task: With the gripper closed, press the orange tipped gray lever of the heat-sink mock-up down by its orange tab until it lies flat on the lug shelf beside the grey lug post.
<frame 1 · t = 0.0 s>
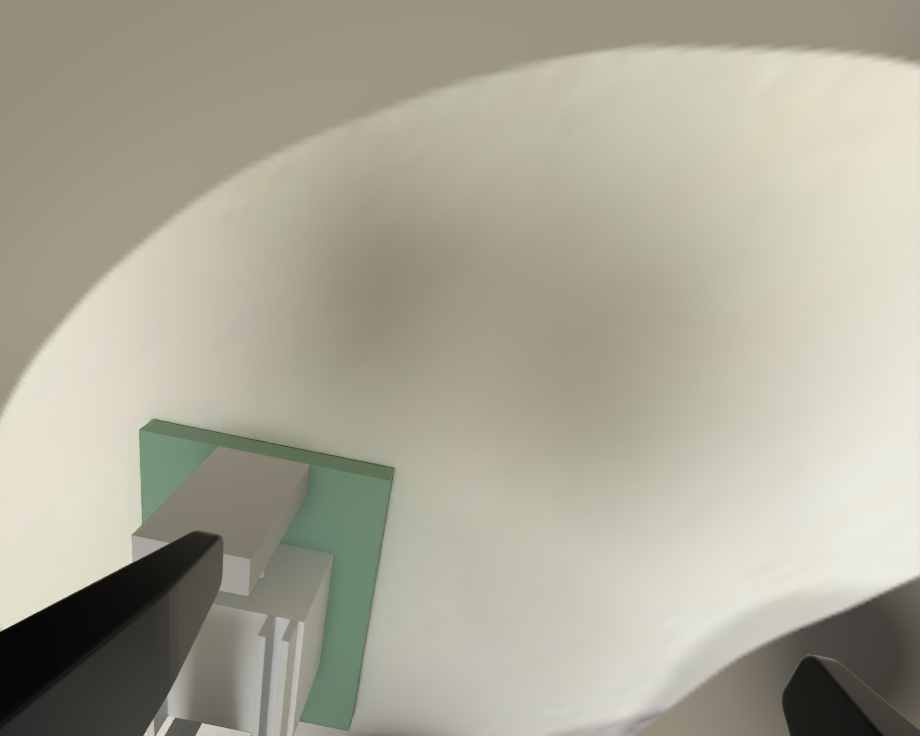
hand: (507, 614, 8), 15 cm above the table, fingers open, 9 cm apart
heatsink board: (263, 582, 28), on the table
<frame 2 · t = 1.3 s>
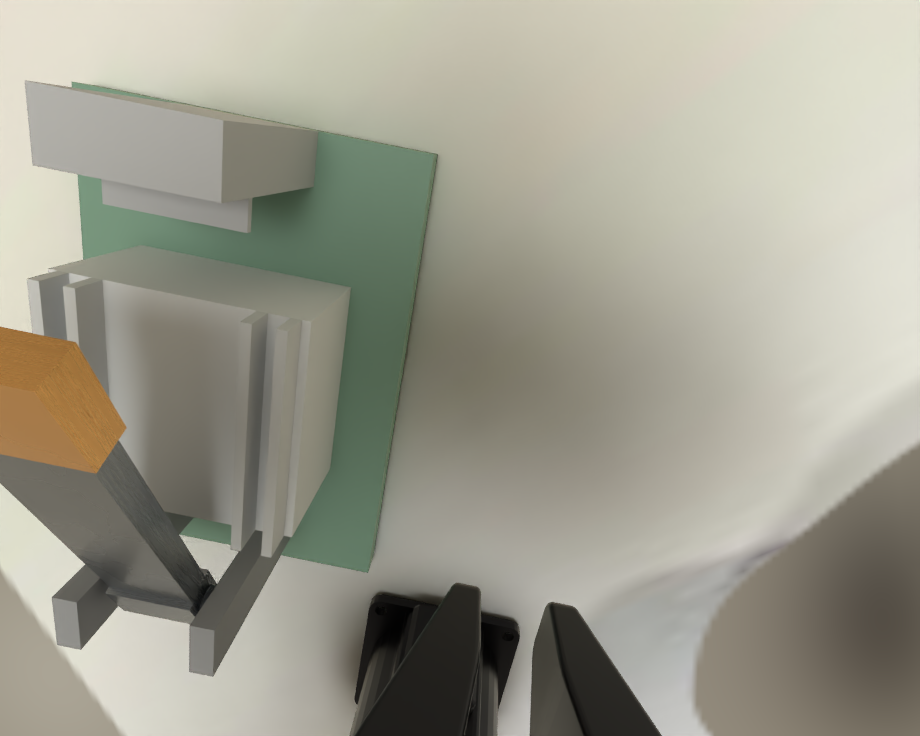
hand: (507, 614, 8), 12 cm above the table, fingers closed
orange tipped gray lever: (102, 515, 13), point 8 cm above the table, hinge at 28.0°
heatsink board: (253, 354, 20), on the table
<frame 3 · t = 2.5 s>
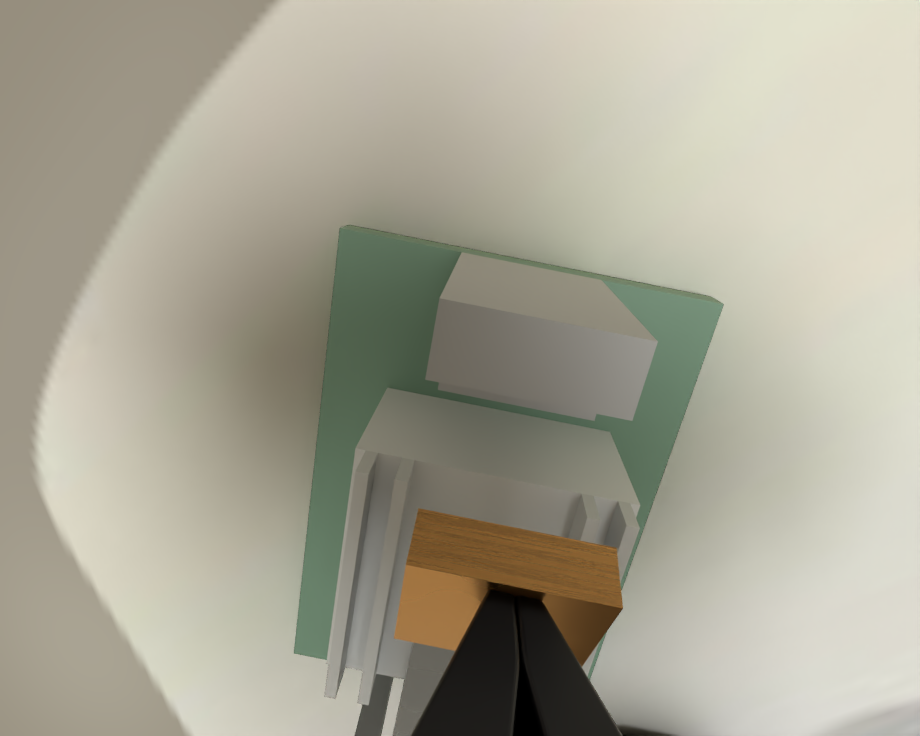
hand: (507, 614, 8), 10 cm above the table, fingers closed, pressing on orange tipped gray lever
orange tipped gray lever: (458, 699, 12), point 8 cm above the table, hinge at 19.8°, touching gripper
heatsink board: (477, 488, 19), on the table
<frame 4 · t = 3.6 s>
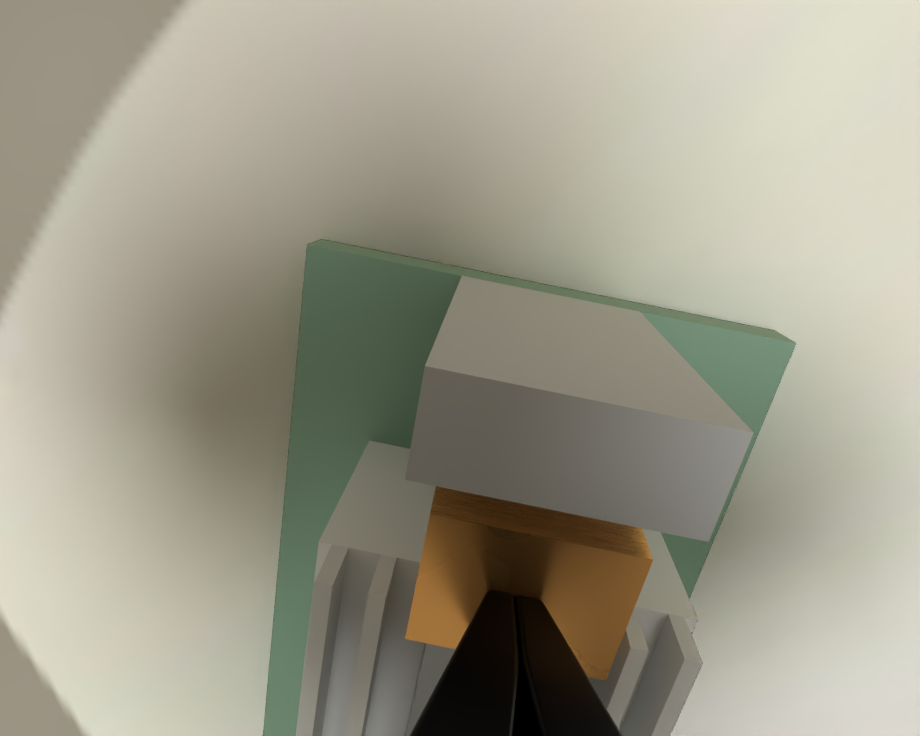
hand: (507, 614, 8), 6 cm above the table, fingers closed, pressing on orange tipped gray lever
heatsink board: (481, 555, 16), on the table
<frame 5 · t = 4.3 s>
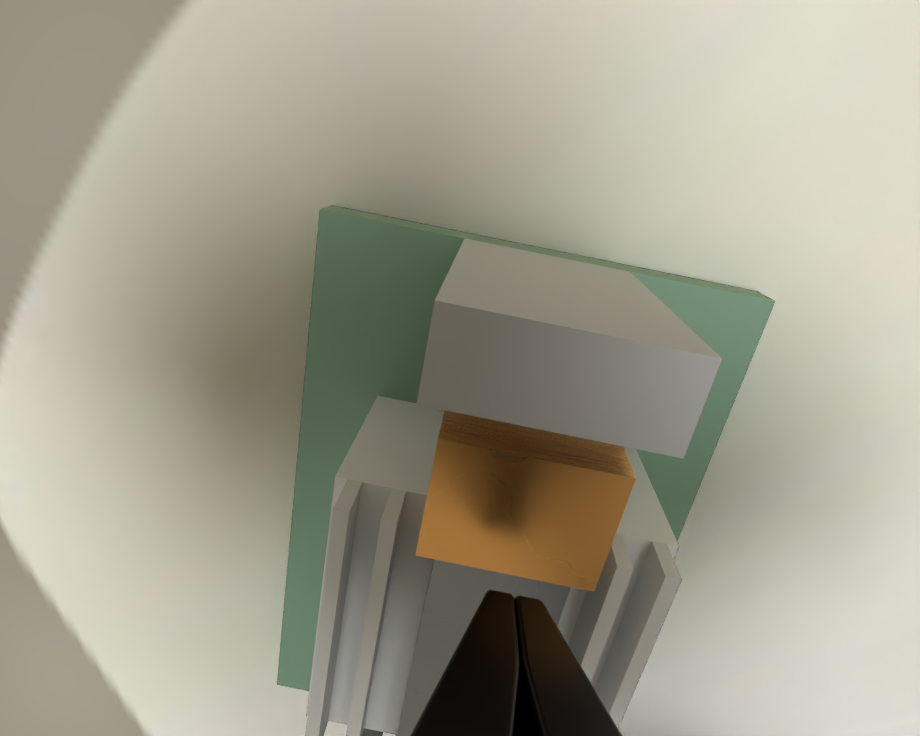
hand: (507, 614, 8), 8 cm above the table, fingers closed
orange tipped gray lever: (467, 686, 12), point 6 cm above the table, hinge at 1.4°
heatsink board: (481, 507, 17), on the table
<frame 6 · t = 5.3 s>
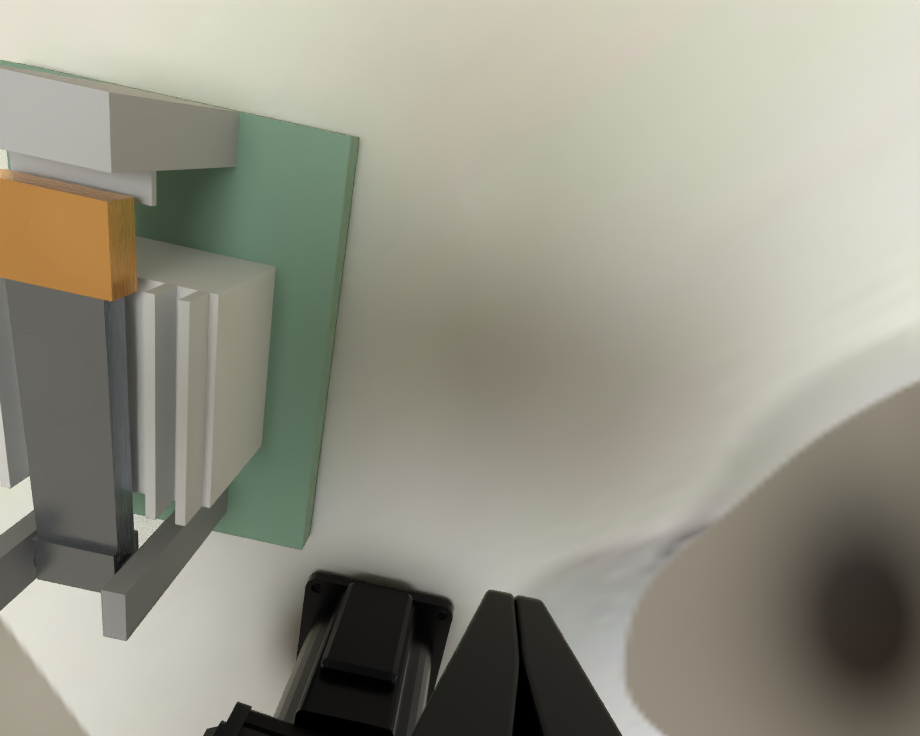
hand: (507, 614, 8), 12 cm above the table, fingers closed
orange tipped gray lever: (76, 408, 16), point 6 cm above the table, hinge at 1.4°
heatsink board: (187, 332, 21), on the table
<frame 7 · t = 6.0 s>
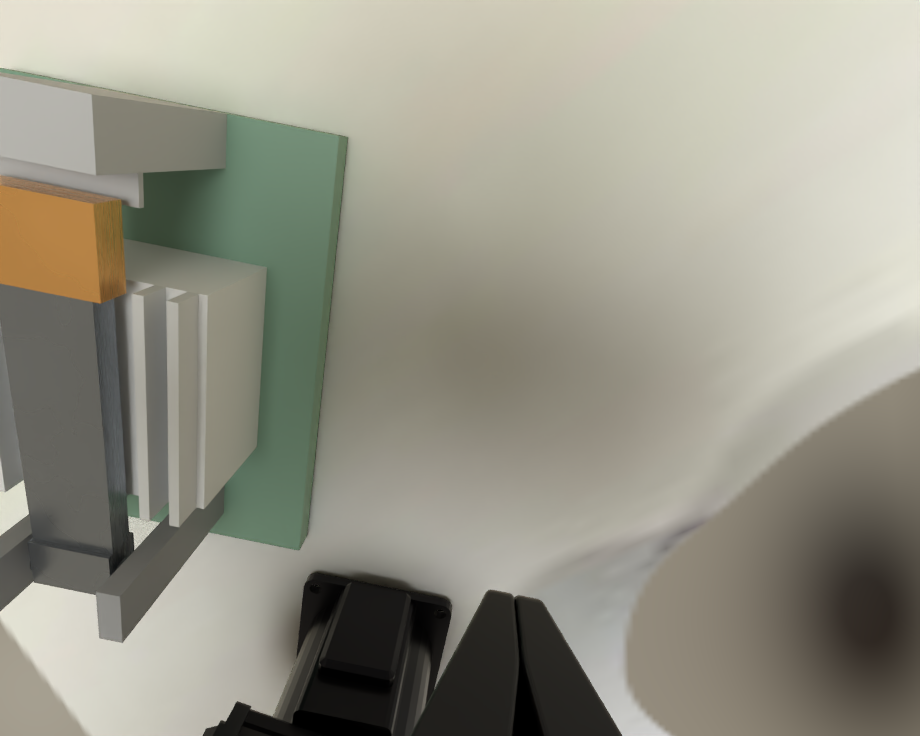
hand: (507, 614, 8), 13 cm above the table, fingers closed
orange tipped gray lever: (68, 411, 16), point 6 cm above the table, hinge at 1.4°
heatsink board: (181, 335, 21), on the table
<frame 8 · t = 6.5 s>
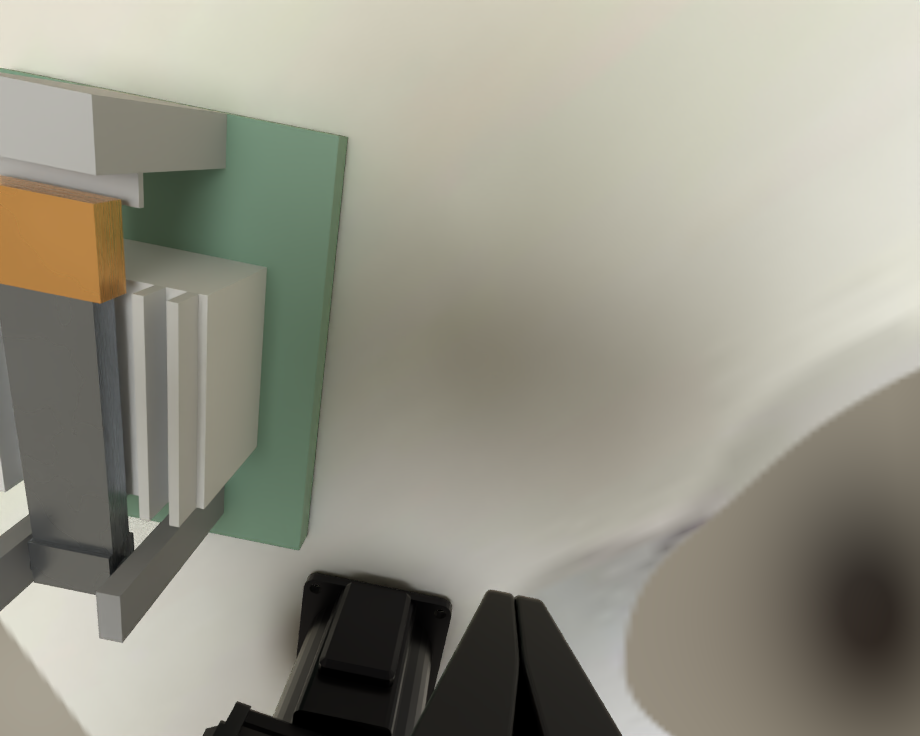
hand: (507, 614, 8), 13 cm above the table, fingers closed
orange tipped gray lever: (68, 411, 16), point 6 cm above the table, hinge at 1.4°
heatsink board: (181, 335, 21), on the table
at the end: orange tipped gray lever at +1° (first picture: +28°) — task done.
